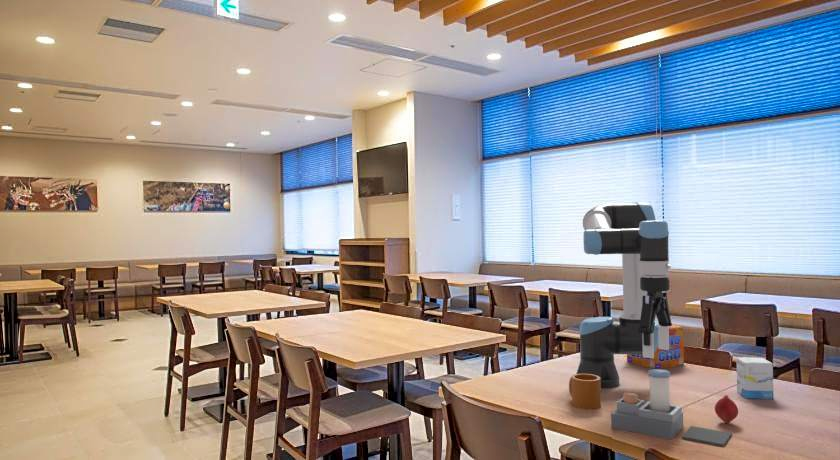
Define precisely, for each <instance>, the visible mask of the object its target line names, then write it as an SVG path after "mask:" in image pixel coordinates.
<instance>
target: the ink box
mask: <svg viewBox="0 0 840 460" xmlns="http://www.w3.org/2000/svg"><path fill="white" fill-rule="evenodd" d="M735 360H736V392H738V393H739V394H740V395H741V396H742V397H744V398H745V399H759V400H760V399H766V400H767V399H768V400H769V399H771V400H774V395H775V394H774V369H773V368H774V367H773V364H774V363H773V362H771V361H769V360H767V359H766V358H763V357H749V356H747V357H745V356H743V357H736V359H735Z"/></svg>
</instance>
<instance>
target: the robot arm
mask: <svg viewBox="0 0 840 460" xmlns="http://www.w3.org/2000/svg"><path fill="white" fill-rule="evenodd" d="M582 227H583V230H584V231H583V252H584V254H587V255H594V256H598V255H621V258H622V261H621V262H622V298H623V299H622V302H623V308H622V309H623V310H622V311H623V312H622V313H621V314H620V315H619V317H618V319H619V320H618V321H617V320H614V318H613V317H611V316H597V317H590V318H585V319H584V320H582V321H581V322H580V324H579V333H578V335H579V343H580V344H579V345H580V346H579V351H580V352H579V355H580V356H579V358H580V360H579V362H578V363H579V365H578V366H577V370H576V373H575V374H593V375H597V376H599V377H600V378H601V389H602V388H613V387H617V386H619V385H620V375H619V373H618V369H617V367H616V364H615V359H614V358H615V356H614V355H627V354H632V355H643V357H645V358H654V353H655V351H656V349H657V346H658V349H664V350H669V327H667V326H672V325H673V323H672V319H671V312H670V309H669V304H668V295H667V294H668V293H667V292H669V291H670V288H671V287H670V278H669V277H667V276H669V275H670V268H671V267H672V265H671V264H669V263H670V262H669V261H670V260H669V257H670V255H669V235H670V232H669V227H668V222H667V221H666V220H656V215H655V211H654V208H653V206H652V204H650V203H648V202H621V203H617V202H616V203H604V204H600V205H597V206H595V207H592V208H591V209H590V210H588V211H587V212H586V213H585V215H584V216H583V218H582ZM656 319H657V321H656ZM657 322H659V324H658V323H657ZM659 325H661V326H659Z"/></svg>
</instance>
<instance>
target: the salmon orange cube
mask: <svg viewBox="0 0 840 460" xmlns="http://www.w3.org/2000/svg"><path fill="white" fill-rule="evenodd" d="M623 397H624V403H630V404H637V399H638V394H637V393H635V392H623Z"/></svg>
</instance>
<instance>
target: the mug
mask: <svg viewBox="0 0 840 460" xmlns="http://www.w3.org/2000/svg"><path fill="white" fill-rule="evenodd" d="M568 389H569V394H570V396H571V404H572V407H574V408H577V409H582V410H596V409H600V408H601V407H602V405H601V403H602V400H601V399H602V398H601V397H602V390H601V389H602V388H601V378H600V377H599V376H597V375H593V374H576V373H575V374H572V375H571V376H570V379H569V381H568Z"/></svg>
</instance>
